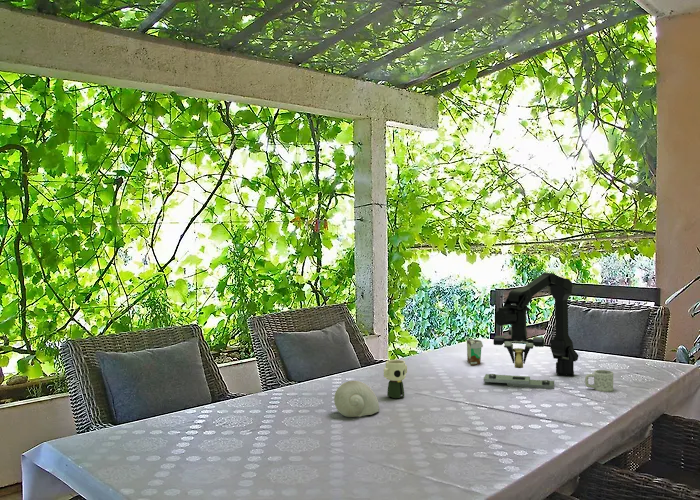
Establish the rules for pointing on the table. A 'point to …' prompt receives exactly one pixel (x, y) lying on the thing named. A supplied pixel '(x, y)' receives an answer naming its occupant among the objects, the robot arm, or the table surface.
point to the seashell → (355, 399)
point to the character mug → (395, 377)
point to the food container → (474, 352)
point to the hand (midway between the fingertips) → (518, 363)
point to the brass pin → (518, 357)
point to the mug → (601, 380)
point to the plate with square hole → (519, 381)
